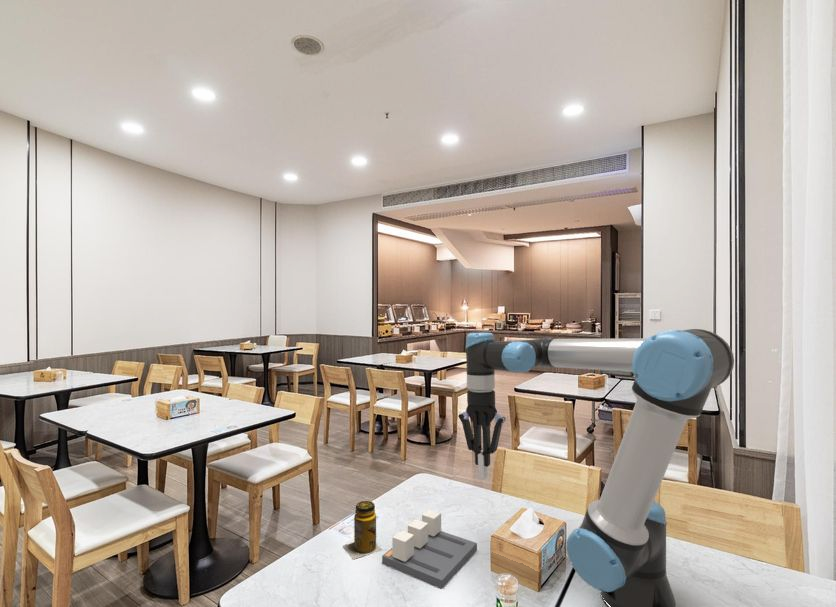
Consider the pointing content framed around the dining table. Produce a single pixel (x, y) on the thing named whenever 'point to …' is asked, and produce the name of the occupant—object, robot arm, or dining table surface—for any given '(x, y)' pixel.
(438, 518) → the block
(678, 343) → the robot arm
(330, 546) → the dining table surface
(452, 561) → the grey slotted panel board
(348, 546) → the condiment
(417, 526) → the block
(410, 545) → the block
